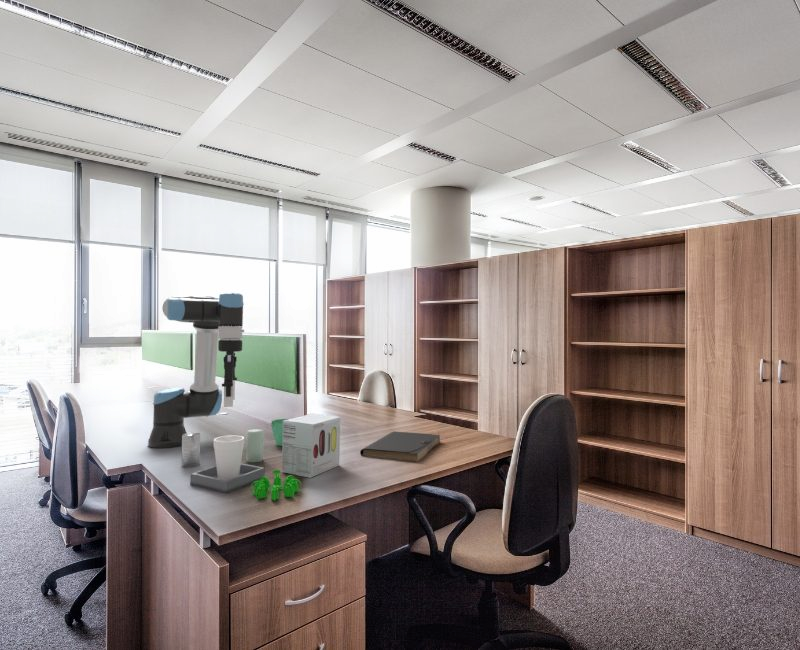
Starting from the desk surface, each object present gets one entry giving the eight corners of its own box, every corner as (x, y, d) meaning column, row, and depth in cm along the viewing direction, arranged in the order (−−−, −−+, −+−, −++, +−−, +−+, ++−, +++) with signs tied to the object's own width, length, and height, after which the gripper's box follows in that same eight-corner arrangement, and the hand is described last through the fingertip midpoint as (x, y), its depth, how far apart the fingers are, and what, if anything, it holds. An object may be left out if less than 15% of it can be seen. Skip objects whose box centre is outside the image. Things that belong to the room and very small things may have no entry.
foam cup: (249, 478, 149) (249, 438, 149) (221, 485, 142) (222, 443, 142) (234, 472, 156) (234, 434, 156) (207, 478, 149) (208, 438, 149)
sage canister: (242, 460, 172) (243, 431, 172) (255, 457, 177) (255, 428, 177) (254, 463, 169) (255, 433, 169) (266, 459, 174) (267, 430, 174)
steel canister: (177, 466, 165) (178, 435, 165) (192, 461, 170) (192, 432, 170) (189, 468, 162) (189, 437, 162) (203, 464, 167) (203, 433, 167)
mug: (266, 446, 193) (267, 422, 193) (276, 441, 202) (276, 418, 203) (300, 448, 190) (300, 424, 191) (308, 442, 200) (308, 419, 200)
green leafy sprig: (301, 484, 148) (302, 463, 148) (301, 501, 133) (301, 477, 133) (253, 487, 145) (253, 465, 145) (247, 504, 130) (247, 480, 130)
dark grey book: (418, 452, 173) (360, 447, 181) (418, 463, 173) (360, 457, 181) (440, 434, 204) (390, 430, 212) (440, 443, 204) (390, 439, 212)
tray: (190, 484, 145) (190, 473, 145) (230, 471, 159) (230, 461, 160) (226, 493, 138) (226, 481, 138) (264, 478, 152) (264, 467, 152)
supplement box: (311, 478, 152) (312, 424, 153) (280, 472, 158) (281, 420, 159) (341, 465, 168) (341, 416, 168) (311, 460, 174) (312, 412, 174)
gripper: (241, 340, 142) (240, 409, 142) (243, 338, 166) (242, 396, 166) (215, 340, 140) (214, 410, 140) (221, 338, 163) (220, 397, 163)
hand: (229, 403), depth 153 cm, fingers open, 13 cm apart
